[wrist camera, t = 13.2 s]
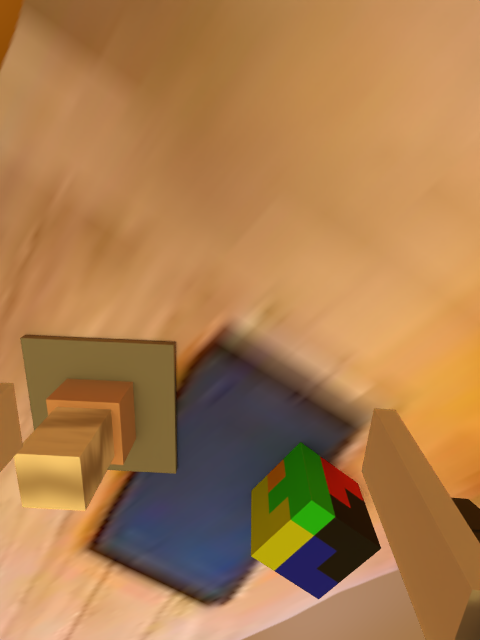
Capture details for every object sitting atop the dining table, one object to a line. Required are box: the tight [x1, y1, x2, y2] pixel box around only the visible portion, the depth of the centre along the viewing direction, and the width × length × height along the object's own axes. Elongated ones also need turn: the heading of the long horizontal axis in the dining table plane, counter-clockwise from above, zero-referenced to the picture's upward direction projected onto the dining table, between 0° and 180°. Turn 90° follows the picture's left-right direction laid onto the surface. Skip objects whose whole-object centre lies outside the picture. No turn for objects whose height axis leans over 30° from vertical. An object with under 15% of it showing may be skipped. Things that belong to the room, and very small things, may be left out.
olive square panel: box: [20, 335, 177, 473], centre depth 48 cm, size 18×18×1 cm
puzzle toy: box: [251, 442, 381, 599], centre depth 47 cm, size 10×10×10 cm
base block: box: [46, 379, 136, 465], centre depth 45 cm, size 8×8×5 cm
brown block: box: [14, 407, 115, 511], centre depth 39 cm, size 6×6×8 cm
